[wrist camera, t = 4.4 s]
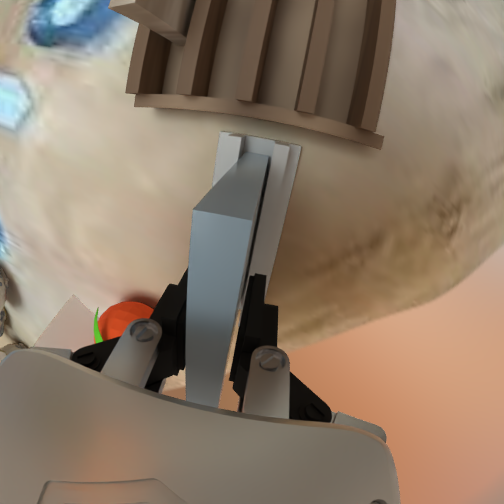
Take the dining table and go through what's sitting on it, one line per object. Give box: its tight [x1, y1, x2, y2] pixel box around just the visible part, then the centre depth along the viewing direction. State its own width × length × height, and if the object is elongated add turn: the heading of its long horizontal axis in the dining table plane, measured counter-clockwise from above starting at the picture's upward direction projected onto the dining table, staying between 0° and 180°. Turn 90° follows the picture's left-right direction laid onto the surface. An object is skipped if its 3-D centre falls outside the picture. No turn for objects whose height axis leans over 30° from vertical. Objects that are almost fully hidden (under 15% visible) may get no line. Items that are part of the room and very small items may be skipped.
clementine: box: [94, 302, 154, 343], centre depth 21 cm, size 8×7×7 cm
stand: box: [212, 131, 301, 327], centre depth 18 cm, size 5×13×3 cm, turn 170°
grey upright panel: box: [186, 152, 269, 408], centre depth 14 cm, size 1×11×11 cm, turn 170°
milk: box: [33, 294, 99, 352], centre depth 17 cm, size 12×12×26 cm
